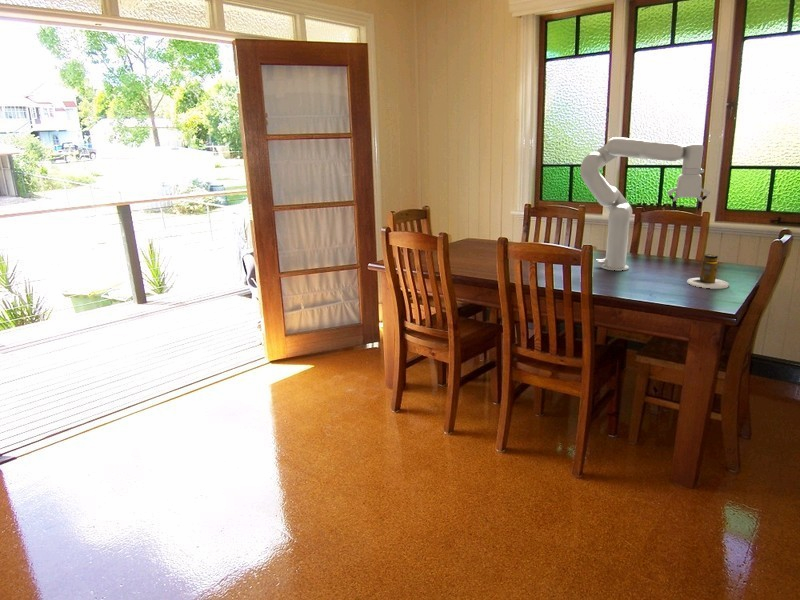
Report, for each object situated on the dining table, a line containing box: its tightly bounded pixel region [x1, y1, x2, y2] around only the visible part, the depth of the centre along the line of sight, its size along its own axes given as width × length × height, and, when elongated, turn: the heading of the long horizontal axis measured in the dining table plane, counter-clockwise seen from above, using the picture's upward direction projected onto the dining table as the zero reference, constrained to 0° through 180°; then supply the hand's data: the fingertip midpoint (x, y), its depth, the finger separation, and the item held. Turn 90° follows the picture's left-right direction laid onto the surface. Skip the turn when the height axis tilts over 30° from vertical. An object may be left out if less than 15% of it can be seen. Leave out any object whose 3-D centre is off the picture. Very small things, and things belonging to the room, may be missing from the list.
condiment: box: [692, 253, 719, 285], centre depth 237 cm, size 7×8×12 cm
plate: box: [686, 277, 730, 290], centre depth 239 cm, size 16×16×1 cm
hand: (685, 210), depth 250 cm, fingers open, 9 cm apart
